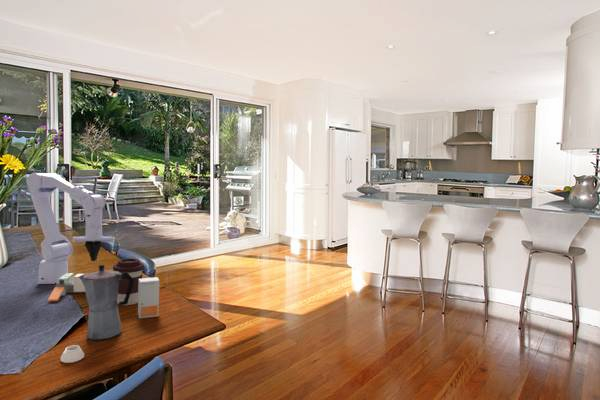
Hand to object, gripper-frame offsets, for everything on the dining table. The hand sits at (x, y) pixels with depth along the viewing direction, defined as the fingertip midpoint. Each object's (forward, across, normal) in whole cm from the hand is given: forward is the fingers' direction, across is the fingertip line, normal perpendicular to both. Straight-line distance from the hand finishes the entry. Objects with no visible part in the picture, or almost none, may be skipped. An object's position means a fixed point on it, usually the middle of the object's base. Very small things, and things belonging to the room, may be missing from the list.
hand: (93, 260), depth 150 cm
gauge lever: (+9, -8, -14) cm, 18 cm away
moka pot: (+11, +17, -45) cm, 49 cm away
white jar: (+11, +13, -59) cm, 61 cm away
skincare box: (+11, +26, -32) cm, 43 cm away
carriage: (+10, -2, -6) cm, 12 cm away
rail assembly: (+10, 0, -6) cm, 12 cm away
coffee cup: (+11, +17, -19) cm, 28 cm away
